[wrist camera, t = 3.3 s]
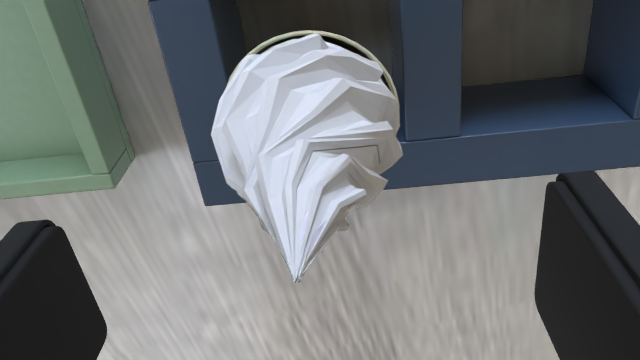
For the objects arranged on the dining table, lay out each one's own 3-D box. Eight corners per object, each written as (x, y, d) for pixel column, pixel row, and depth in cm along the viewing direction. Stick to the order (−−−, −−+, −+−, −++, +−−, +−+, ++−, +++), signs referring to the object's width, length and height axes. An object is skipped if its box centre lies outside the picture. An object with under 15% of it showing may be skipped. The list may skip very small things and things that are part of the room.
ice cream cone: (368, -43, 21) (431, 137, 8) (385, 81, 23) (452, 367, 10) (241, -17, 21) (105, 190, 8) (271, 100, 24) (203, 395, 11)
